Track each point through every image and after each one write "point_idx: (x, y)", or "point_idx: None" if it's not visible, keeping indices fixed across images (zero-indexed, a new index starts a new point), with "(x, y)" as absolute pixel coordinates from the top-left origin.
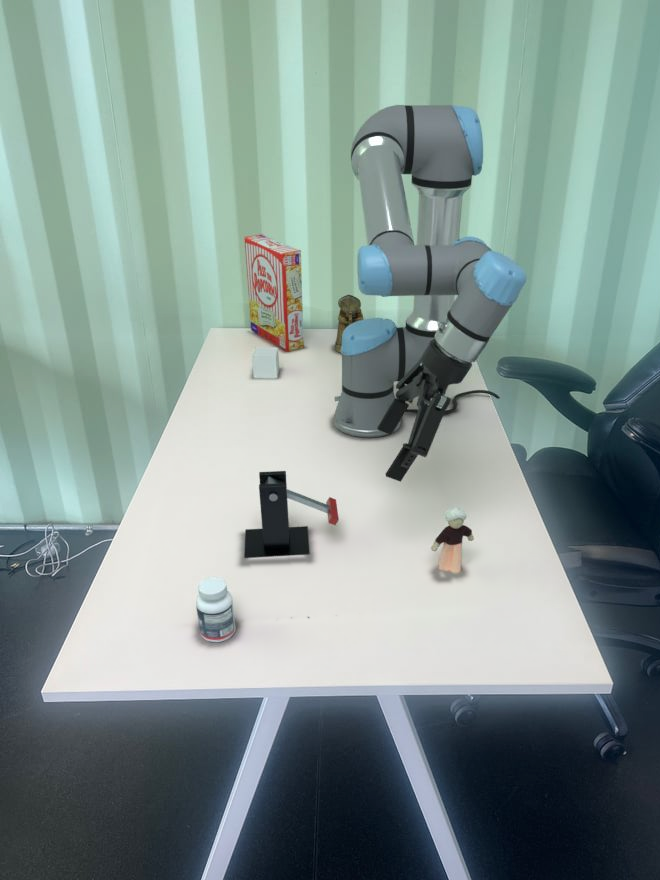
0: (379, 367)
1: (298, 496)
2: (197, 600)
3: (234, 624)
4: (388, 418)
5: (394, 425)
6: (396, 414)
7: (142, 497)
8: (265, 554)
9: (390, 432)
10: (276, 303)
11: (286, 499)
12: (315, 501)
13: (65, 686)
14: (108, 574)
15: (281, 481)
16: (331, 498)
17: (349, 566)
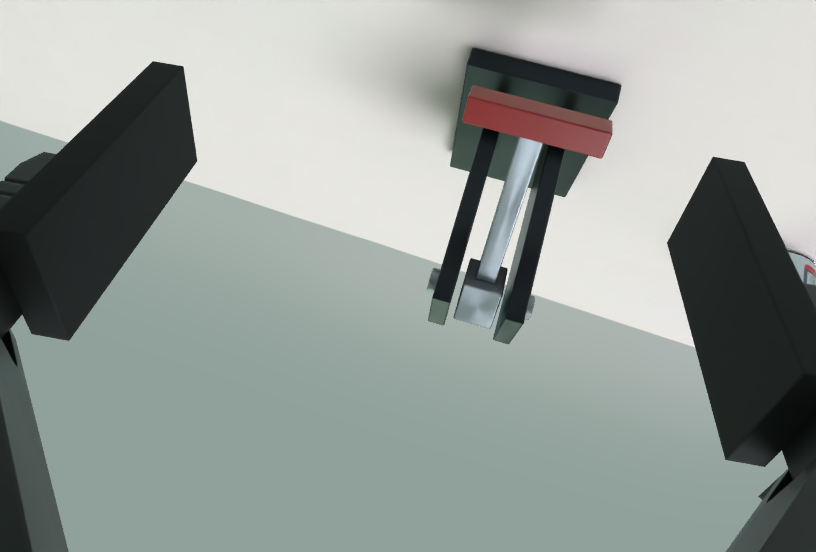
0: None
1: (507, 243)
2: None
3: (799, 271)
4: (147, 204)
5: (149, 121)
6: (110, 205)
7: (302, 218)
8: (571, 170)
9: (179, 88)
10: None
11: (533, 280)
12: (513, 189)
13: None
14: None
15: (463, 290)
16: (471, 117)
17: (729, 4)
